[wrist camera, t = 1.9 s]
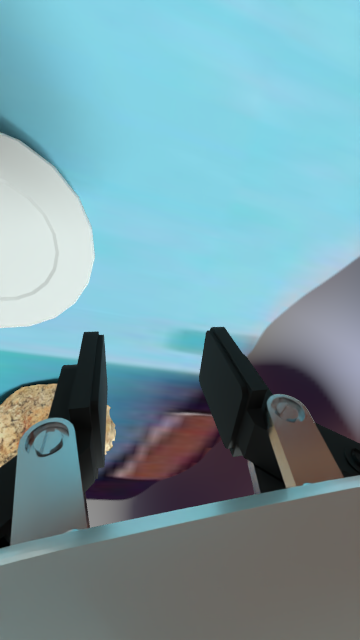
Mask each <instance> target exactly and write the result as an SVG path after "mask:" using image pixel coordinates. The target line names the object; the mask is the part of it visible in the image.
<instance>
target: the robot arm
mask: <svg viewBox="0 0 360 640" xmlns="http://www.w3.org/2000/svg"><path fill="white" fill-rule="evenodd" d="M199 382H200V385H201V388H202V390H203V393H204V395H205V398H206V401H207V403H208V406H209V408H210V411H211V413H212V416H213V418H214V421H215V423H216V426H217V428H218V431H219V433H220V436H221V439H222V441H223V444H224V446H225V448H227V449H228V448H229V449H230V451H231V454H232V456H233V457H236V456H241V455H243V457H244V458H245V459H247V460H248V466H249V471H250V475H251V479H252V484H253V488H254V493H255V495H251V496H246V497H241V498H236V499H231V500H226V501H221V502H215V503H210V504H206V505H200V506H195V507H190V508H186V509H181V510H175V511H170V512H166V513H161V514H156V515H151V516H146V517H141V518H136V519H131V520H127V521H121V522H117V523H112V524H107V525H102V526H97V527H92V528H90V525H89V518H88V511H87V503H86V495H85V491H86V490H87V489H88V488H89V487H90V486H91V485H92V484H93V483H94V482H95V479H98V468H103V467H104V463H105V438H106V413H107V374H106V359H105V344H104V335H99V332H84V334H83V339H82V344H81V349H80V354H79V359H78V364H77V365H64V366H63V367H62V369H61V373H60V376H59V380H58V384H57V387H56V391H55V394H54V398H53V402H52V405H51V409H50V413H49V416H48V419H45V420H43V421H40V422H38V423H36V424H35V425H33V426H31V427H30V428H29V429H28V430H27V431H26V432H25V433H24V434H23V436H22V437H21V439H20V442H19V445H18V454H17V455H16V456H15V457H13V458H12V459H11V460H9V461H8V462H7V463H5V464H4V465H3V466H1V467H0V640H360V443H357V442H355V441H353V440H351V439H349V438H347V437H345V436H342V435H340V434H338V433H336V432H334V431H332V430H330V429H327V428H325V427H323V426H321V425H319V424H317V423H315V422H314V421H313V419H312V417H311V415H310V413H309V412H308V410H307V409H306V407H305V406H304V405H303V404H302V403H301V402H300V401H298V400H296V399H295V398H293V397H290V396H288V395H283V394H275V395H273V394H272V393H271V391H270V390H269V388H268V387H267V385H266V384H265V383H264V381H263V380H262V378H261V377H260V376H259V374H258V373H257V371H256V370H255V368H254V367H253V366H252V364H251V363H250V361H249V360H248V358H247V357H246V356H245V355H244V354H243V353H242V352H241V351H240V349H239V348H238V346H237V345H236V343H235V342H234V340H233V339H232V338H231V336H230V335H229V333H228V332H227V330H226V329H225V328H224V327H212V328H211V329H210V331H207V332H206V337H205V343H204V350H203V356H202V362H201V369H200V375H199Z"/></svg>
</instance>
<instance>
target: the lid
mask: <svg viewBox="0 0 360 640" xmlns="http://www.w3.org/2000/svg"><path fill="white" fill-rule="evenodd" d="M94 258H95V253H94V243H93V234H92V227H91V224H90V222H89V220H88V217H87V215H86V213H85V210H84V208H83V206H82V204H81V201H80V199H79V197H78V195H77V194H76V193H75V192H74V190H73V189H72V188H71V186H70V185H69V184H68V183H67V181H66V180H65V179H64V178H63V176H62V175H61V174H60V173H59V171H58V170H57V169H56V168H55V166H53V165H52V164H51V163H49V162H48V161H47V160H45V159H44V158H43V157H42V156H40V155H39V154H38V153H36V152H35V151H34V150H32V149H31V148H30V147H28V146H27V145H26V144H24V143H23V142H22V141H20V140H18V139H16V138H13V137H11V136H8V135H6V134H3V133H1V132H0V328H7V327H26V326H32V325H35V324H38V323H41V322H44V321H47V320H50V319H53V318H55V317H57V316H58V315H59V314H61V313H62V312H64V311H65V310H66V309H68V308H69V307H70V306H72V305H73V304H75V302H76V301H77V299H78V298H79V296H80V295H81V293H82V292H83V291H84V289H85V288H86V286H87V285H88V283H89V279H90V275H91V271H92V266H93V262H94Z"/></svg>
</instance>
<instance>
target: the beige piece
mask: <svg viewBox="0 0 360 640" xmlns="http://www.w3.org/2000/svg"><path fill="white" fill-rule="evenodd" d="M56 387H57V384H48V385H45V384H44V385H42V384H37V385H32V386H29V387H28V386H27V387H21V389H19V390H17V391H15V392H14V393H13V394H11V395H10V396H9V397H8V398H7V399H6V400H5V401H4V402H3V403H2V404H1V405H0V467H1V466H3V465H4V464H5V463H7V462H8V461H9V460H11V459H12V458H13V457H15V456H16V455H17V454H18V445H19V442H20V439H21V437H22V436H23V434H24V433H25V432H26V431H27V430H28V429H29V428H30V427H31V426H33V425H35V424H36V423H38V422H40V421H43V420H45V419H48V416H49V413H50V409H51V405H52V402H53V398H54V394H55V391H56ZM110 408H111V407H109V406H108V405H107V413H106V438H105V454H106V451H110V449H111V448H112V447H113V445H112V441H115V435H116V430H115V429H114V428H115V424H114V423H113V421H112V420H111V418H110V416H109V409H110Z"/></svg>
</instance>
